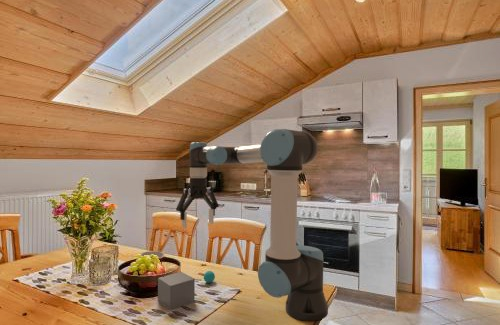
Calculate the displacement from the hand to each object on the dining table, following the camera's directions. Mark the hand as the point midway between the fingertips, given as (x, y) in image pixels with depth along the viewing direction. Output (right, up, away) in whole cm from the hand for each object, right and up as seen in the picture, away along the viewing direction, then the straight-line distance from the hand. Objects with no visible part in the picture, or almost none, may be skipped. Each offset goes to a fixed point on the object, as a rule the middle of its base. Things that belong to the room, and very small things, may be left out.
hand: (198, 225), depth 138 cm
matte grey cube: (-6, -26, -17) cm, 32 cm away
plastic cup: (-21, -26, +3) cm, 34 cm away
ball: (+5, -23, +1) cm, 24 cm away
